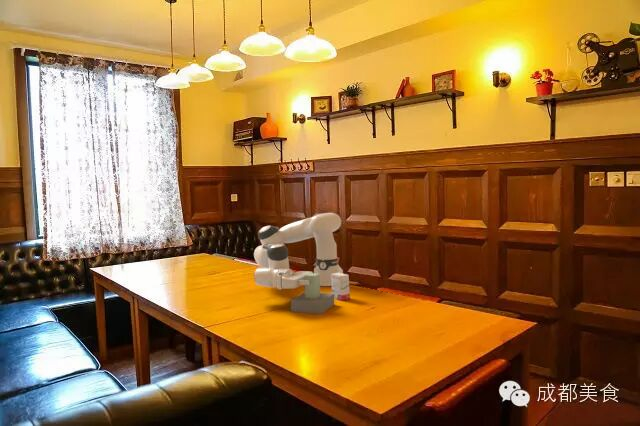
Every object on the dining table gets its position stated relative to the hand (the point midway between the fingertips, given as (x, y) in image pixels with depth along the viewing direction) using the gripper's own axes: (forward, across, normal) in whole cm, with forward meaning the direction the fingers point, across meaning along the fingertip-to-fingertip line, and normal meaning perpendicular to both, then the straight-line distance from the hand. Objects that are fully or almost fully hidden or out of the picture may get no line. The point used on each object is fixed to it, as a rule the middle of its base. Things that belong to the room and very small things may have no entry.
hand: (314, 280), depth 196 cm
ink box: (+5, -19, -13) cm, 23 cm away
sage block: (-1, 0, -8) cm, 8 cm away
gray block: (-1, 0, -12) cm, 13 cm away
